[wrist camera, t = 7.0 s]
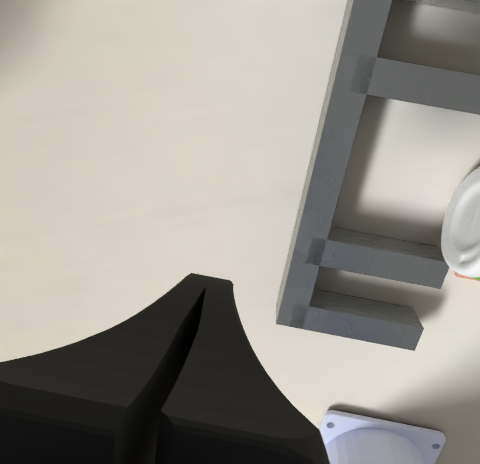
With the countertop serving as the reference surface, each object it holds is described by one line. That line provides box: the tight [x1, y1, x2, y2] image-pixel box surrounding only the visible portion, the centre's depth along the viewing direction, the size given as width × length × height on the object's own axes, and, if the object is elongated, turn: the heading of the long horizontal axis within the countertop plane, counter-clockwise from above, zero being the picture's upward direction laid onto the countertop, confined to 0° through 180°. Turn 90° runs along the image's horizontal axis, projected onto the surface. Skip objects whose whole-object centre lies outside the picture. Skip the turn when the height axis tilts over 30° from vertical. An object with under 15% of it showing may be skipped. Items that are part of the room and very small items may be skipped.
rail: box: [276, 0, 480, 351], centre depth 20 cm, size 18×8×2 cm, turn 171°
